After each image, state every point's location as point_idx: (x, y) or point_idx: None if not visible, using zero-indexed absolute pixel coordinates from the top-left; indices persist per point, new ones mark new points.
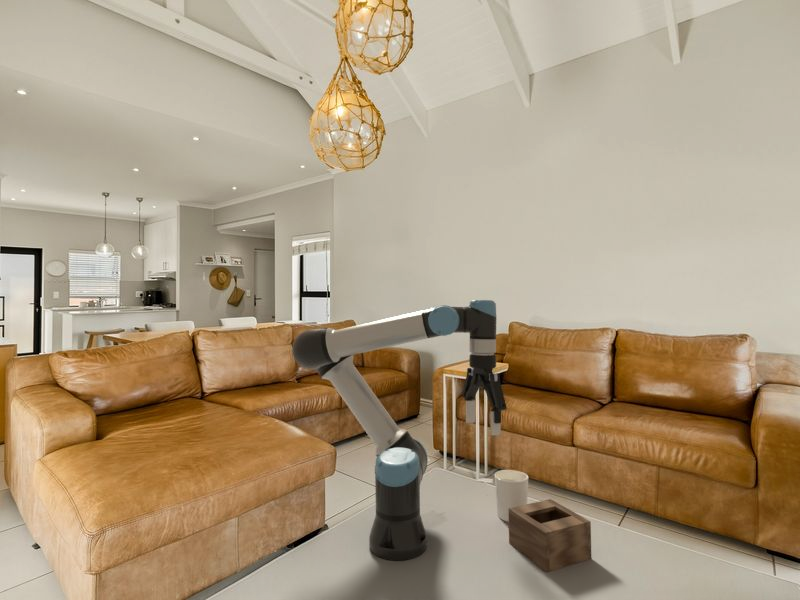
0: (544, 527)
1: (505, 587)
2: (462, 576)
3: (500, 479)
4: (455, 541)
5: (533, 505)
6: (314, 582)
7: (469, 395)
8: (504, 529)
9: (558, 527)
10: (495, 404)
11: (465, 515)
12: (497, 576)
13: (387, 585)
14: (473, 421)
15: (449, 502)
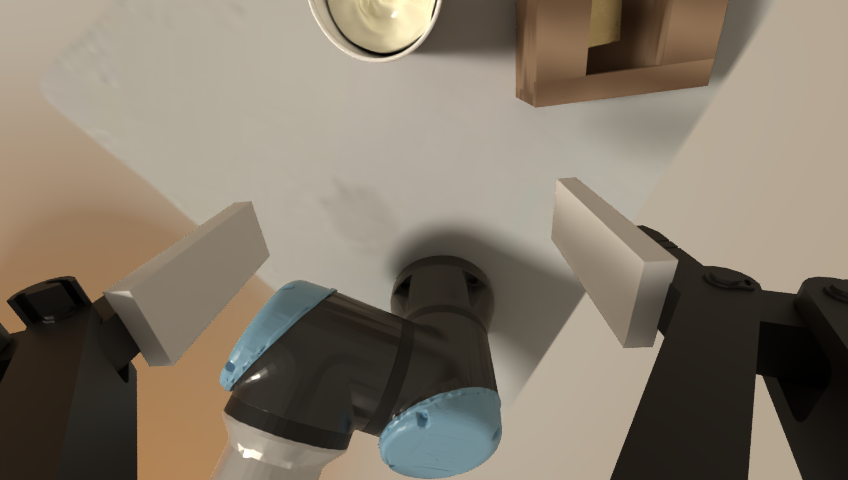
0: (685, 68)
1: (638, 185)
2: None
3: (400, 57)
4: (465, 206)
5: (555, 7)
6: None
7: (130, 407)
8: (454, 72)
9: (713, 21)
10: (781, 412)
11: (361, 137)
12: (604, 183)
13: (539, 333)
14: (252, 216)
15: (283, 147)
